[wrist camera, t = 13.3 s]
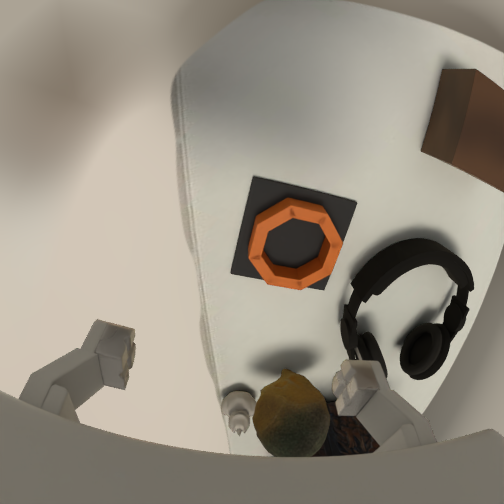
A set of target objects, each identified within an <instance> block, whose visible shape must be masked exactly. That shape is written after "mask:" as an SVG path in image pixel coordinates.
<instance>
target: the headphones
mask: <svg viewBox="0 0 504 504" xmlns="http://www.w3.org/2000/svg"><path fill="white" fill-rule="evenodd" d="M427 264H435V265H440V266H442V267H443V268H444V269H445V271H446V272H447V274H448V276H449V277H450V278H451V279H452V280H453V281H454V282H455V283H456V284H457V285H458V288H457V295H456V296H455V295H453V296H452V299H451V303H450V305H449V306H448V307H447V308H446V310H445V313H444V322H443V324H439V323H436V324H432V323H424V324H422V325H420V326H418V327H416V328H415V329H414V330H413V331H412V332H411V333H410V334H409V335H408V336H407V338H406V340H405V341H404V344H403V346H402V349H401V353H400V365H401V368H402V370H403V371H404V372H405V373H407V374H408V375H409V376H410V377H411V378H413V379H415V380H423V379H426V378H428V377H430V376H432V375H433V374H435V373H436V372H437V371H438V370H439V369H440V367H441V366H442V365H443V363H444V361H445V360H446V357H447V355H448V352H449V348H450V343H451V341H452V340H453V338H454V337H455V335H456V334H457V332H458V331H460V330H461V329H462V328H463V326H464V324H465V321H466V316H467V314H468V311H469V308H468V307H467V306H466V304H467V300H468V293H469V291H470V292H471V291H472V290H474V282H473V277H472V273H471V271H470V269H469V267H468V266H467V264H466V263H465V262H464V261H463V260H462V259H461V258H459V257H458V256H457V255H455V254H454V253H453V252H451V251H450V250H448V249H447V248H445V247H444V246H442V245H441V244H439V243H438V242H436V241H433V240H430V239H424V238H415V239H408V240H403V241H400V242H397V243H395V244H393V245H390V246H389V247H387V248H385V249H384V250H382V251H381V252H379V253H378V254H377V255H375V256H374V257H373V258H372V259H371V260H370V261H369V262H368V263H367V264H366V265H365V266H364V267H363V268H362V269H361V271H360V272H359V273H358V274H357V275H356V277H355V278H354V279H353V281H352V282H351V283H350V284H351V285H352V287H353V288H354V290H353V293H352V295H351V297H350V300H349V304H344V312H343V319H341V323H340V328H341V336H342V341H343V344H344V347H345V349H346V350H347V353H348V356H349V359H350V360H366V361H378V362H379V363H380V364H381V367H382V369H383V372H384V374H385V377H386V378H387V369H386V365H385V361H384V358H383V356H382V353H381V350H380V348H379V346H378V343H377V341H376V340H375V338H374V336H373V335H372V334H371V333H370V332H364V333H363V334H362V335H358V334H357V330H356V328H357V323H358V322H357V320H356V318H355V316H356V314H357V311H358V308H359V306H360V304H361V302H362V301H363V302H365V303H366V302H367V301H368V299H369V298H370V297H371V296H372V294H374V295H379V294H381V293H382V292H383V291H384V290H385V289H386V288H387V287H388V286H389V285H390V284H391V283H392V282H393V281H395V280H396V279H397V278H398V277H400V276H401V275H403V274H404V273H406V272H408V271H410V270H412V269H414V268H416V267H419V266H422V265H427ZM355 356H356V359H355Z"/></svg>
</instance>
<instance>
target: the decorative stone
mask: <svg viewBox="0 0 504 504" xmlns="http://www.w3.org/2000/svg"><path fill="white" fill-rule="evenodd" d="M252 419H253V424H254V427H255V430H256V431H257V437H258V438H259V440H260V441H261V443H262V444H263V446H264V447H265V449H266V450H267V451H268V452H269V453H270V454H272V455H274V456H276V457H311V456H313V455H314V454H315V453H316V452H317V451H318V450H319V449H320V448H321V446H322V445H323V443H324V441H325V439H326V436H327V433H328V429H329V425H330V414H329V412H328V409H327V405H326V401H325V398H324V396H323V395H322V394H321V393H320V391H319V390H317V389H316V388H315V387H314V386H313V385H312V384H311V383H310V381H309V380H308V379H306V378H305V377H304V376H302V375H300V374H296V373H294V372H292V371H291V370H289V369H283V370H282V372H281V377H280V378H279V379H278V380H277V381H275V382H273V383H271V384H269V385H267V386H265V387H264V388H263V389H262V390H261V396H260V398H259V399H258V401H257V403H256V406H255V411H254V415H253V418H252Z"/></svg>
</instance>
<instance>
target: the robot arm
mask: <svg viewBox="0 0 504 504" xmlns="http://www.w3.org/2000/svg"><path fill="white" fill-rule="evenodd" d="M134 338H135V329H133V328H128V327H125V326H121V325H117V324H114V323H109V322H105V321H102V320H98V319H97V320H96V321H95V322H94V323H93V325H92V327H91V329H90V331H89V333H88V335H87V337H86V339H85V341H84V343H83V345H82V347H81V349H79V348H76V349H75V350H73V351H71V352H69V353H68V354H66V355H64V356H62V357H60V358H59V359H57V360H55V361H54V362H52V363H50V364H48V365H46V366H45V367H43V368H41V369H39V370H38V371H36V372H34V373H32V374H31V376H30V377H29V380H28V382H27V383H26V385H25V387H24V389H23V391H22V393H21V395H20V397H19V399H17V398H15V397H13V396H10V395H8V394H6V393H4V392H2V391H0V504H504V437H503V436H502V435H501V434H499V433H498V432H496V431H495V430H493V429H486V430H483V431H480V432H476V433H473V434H469V435H465V436H462V437H458V438H454V439H450V440H445V441H441V442H437V440H436V438H435V435H434V433H433V430H432V428H431V425H430V423H429V421H428V420H427V419H426V418H425V417H424V416H423V415H422V414H420V413H419V412H418V411H417V410H416V409H415V408H414V407H412V406H411V405H410V404H409V403H408V402H407V401H406V400H404V399H403V398H402V397H401V396H400V395H399V394H398V393H396V392H395V391H394V390H391V389H390V387H389V384H388V382H387V379H386V377H385V374H384V372H383V369H382V367H381V364H380V363H379V362H378V361H366V360H345V361H343V363H342V364H341V369H342V370H340V371H338V372H337V373H336V374H335V376H334V378H333V381H332V391H333V394H334V395H335V396H336V397H337V398H338V399H337V400H336V402H335V404H336V408H337V412H338V416H356V417H357V419H358V420H359V421H360V422H361V423H362V425H363V426H364V427H365V428H366V429H367V431H368V432H369V433H370V434H371V436H372V437H373V438H374V439H375V440H376V442H377V443H378V444H379V445H380V447H379V448H378V449H377V450H375V451H374V452H373V453H368V454H358V455H346V456H329V457H264V456H246V455H234V454H223V453H214V452H206V451H198V450H192V449H185V448H179V447H173V446H168V445H162V444H157V443H153V442H148V441H143V440H139V439H135V438H130V437H126V436H122V435H118V434H115V433H111V432H107V431H104V430H101V429H97V428H94V427H91V426H87V425H84V424H81V423H80V421H79V419H78V417H77V414H76V412H75V410H76V409H77V408H78V407H79V406H80V405H82V404H83V403H84V402H85V401H87V400H88V399H89V398H90V397H91V396H93V395H94V394H95V393H96V392H97V391H99V390H100V389H101V388H102V387H103V386H104V385H106V386H110V387H114V388H118V389H123V390H125V388H126V385H127V382H128V379H129V369H131V368H132V366H133V362H134V358H135V349H136V346H135V343H134V342H133V341H134Z"/></svg>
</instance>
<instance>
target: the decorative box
mask: <svg viewBox="0 0 504 504" xmlns="http://www.w3.org/2000/svg"><path fill="white" fill-rule="evenodd" d="M326 405H327V409H328V412H329V414H330V425H329V429H328V433H327V436H326V439H325V441H324V443H323V445H322V446H321V448H320V449H319V450H318V451H317V452H316V453H315V454H314V455H313V456H311V457H329V456H346V455H358V454H368V453H373V452H374V451H375V450H377V449H378V448H379V447H380V445H379V444H378V443H377V442H376V440H375V439H374V438H373V437H372V436H371V434H370V433H369V432H368V431H367V429H366V428H365V427H364V426H363V425H362V423H361V422H360V421H359V420H358V419H357V417H356V416H338V412H337V408H336V404H335V402H330V403H326Z"/></svg>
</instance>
